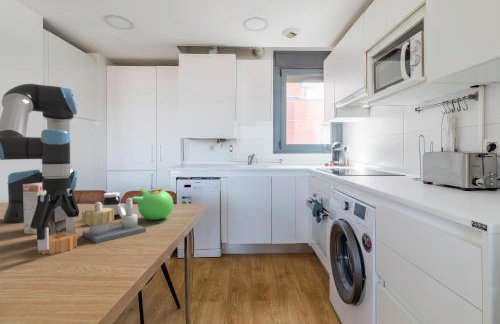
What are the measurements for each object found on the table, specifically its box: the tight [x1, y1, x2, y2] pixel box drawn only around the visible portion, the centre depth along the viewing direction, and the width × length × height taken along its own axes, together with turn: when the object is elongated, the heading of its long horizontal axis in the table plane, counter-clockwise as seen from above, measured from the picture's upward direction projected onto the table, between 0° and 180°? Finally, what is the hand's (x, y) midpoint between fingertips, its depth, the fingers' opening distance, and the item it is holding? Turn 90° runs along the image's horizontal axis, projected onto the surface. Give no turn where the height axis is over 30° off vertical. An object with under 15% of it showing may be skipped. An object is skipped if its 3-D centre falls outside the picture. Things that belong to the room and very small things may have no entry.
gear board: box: [81, 197, 147, 244], centre depth 101 cm, size 14×20×13 cm
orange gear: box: [37, 232, 78, 255], centre depth 85 cm, size 10×10×4 cm
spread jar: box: [102, 192, 126, 219], centre depth 129 cm, size 12×11×12 cm
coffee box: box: [37, 196, 68, 235], centre depth 96 cm, size 9×6×16 cm
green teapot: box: [130, 188, 174, 221], centre depth 124 cm, size 18×17×15 cm
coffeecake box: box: [23, 182, 70, 235], centre depth 108 cm, size 15×7×20 cm, turn 168°
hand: (58, 242), depth 85 cm, fingers open, 13 cm apart
